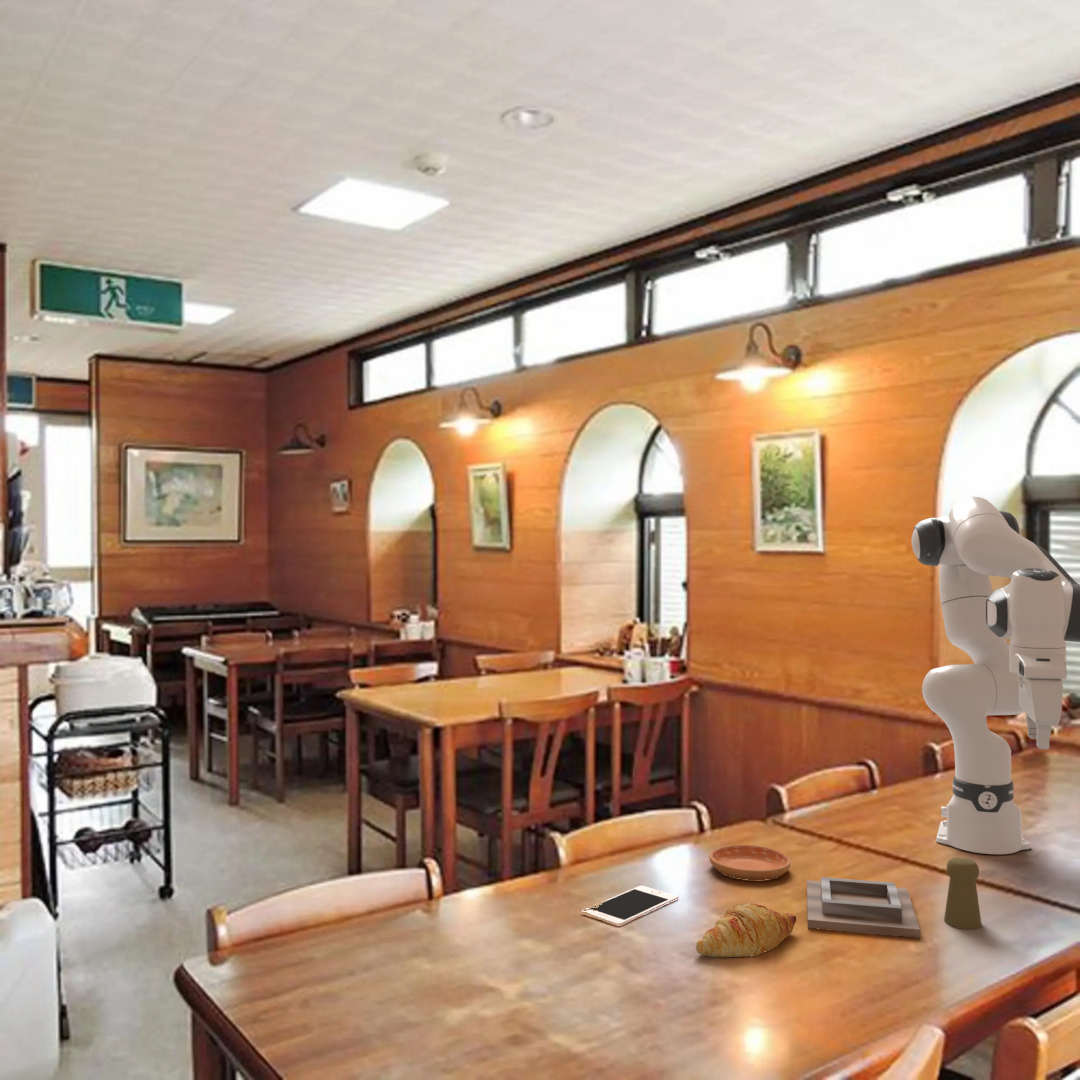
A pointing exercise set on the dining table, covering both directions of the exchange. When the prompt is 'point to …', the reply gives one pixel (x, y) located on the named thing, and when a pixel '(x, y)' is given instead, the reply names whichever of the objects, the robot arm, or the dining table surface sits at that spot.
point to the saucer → (749, 862)
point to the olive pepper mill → (962, 894)
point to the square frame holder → (861, 907)
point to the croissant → (746, 932)
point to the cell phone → (631, 904)
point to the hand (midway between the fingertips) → (1038, 743)
